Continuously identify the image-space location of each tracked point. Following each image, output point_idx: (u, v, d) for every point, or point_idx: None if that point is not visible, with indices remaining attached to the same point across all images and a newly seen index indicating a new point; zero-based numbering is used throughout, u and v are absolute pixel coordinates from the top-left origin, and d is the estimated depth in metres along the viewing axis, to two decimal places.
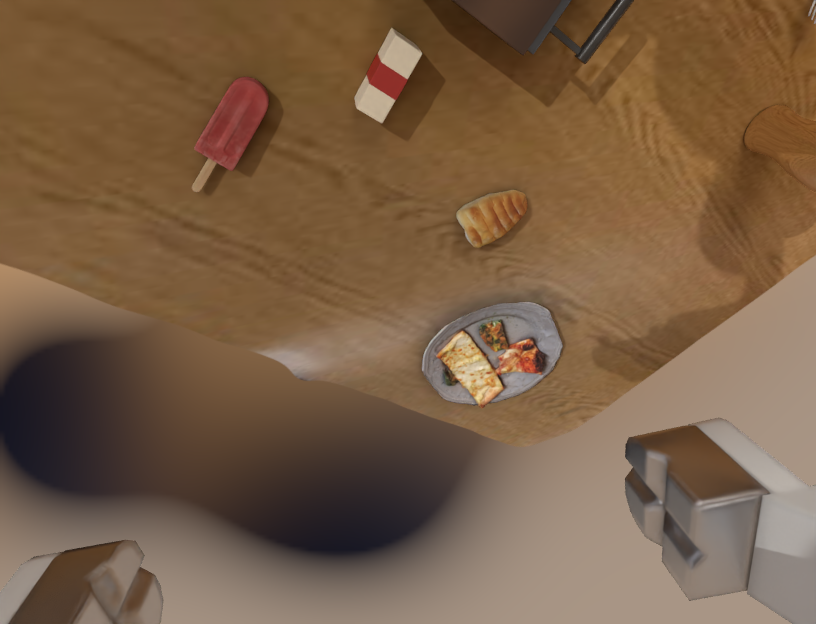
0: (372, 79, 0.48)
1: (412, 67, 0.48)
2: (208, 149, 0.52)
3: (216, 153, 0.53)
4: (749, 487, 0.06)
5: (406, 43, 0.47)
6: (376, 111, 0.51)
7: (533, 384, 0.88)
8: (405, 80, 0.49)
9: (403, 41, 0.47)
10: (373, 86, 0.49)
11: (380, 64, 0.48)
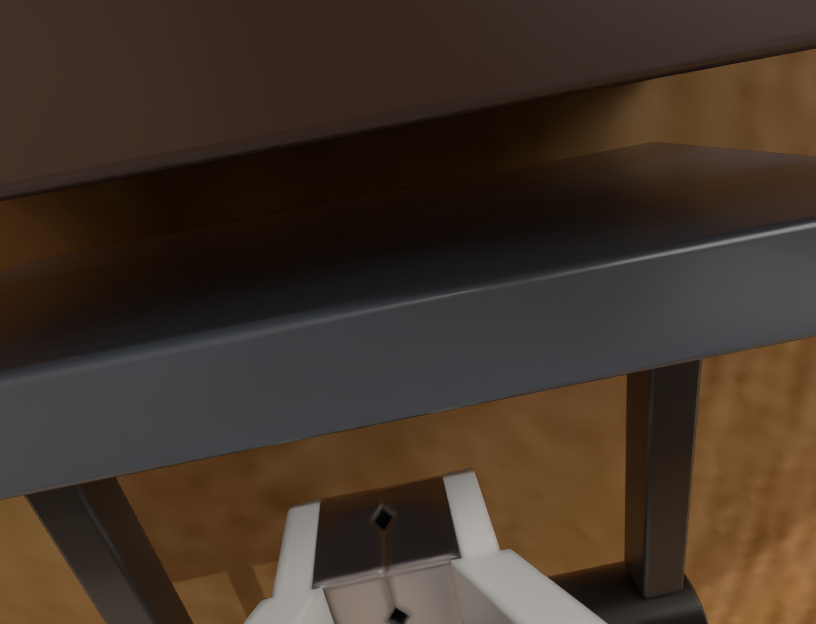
0: None
1: None
2: None
3: None
4: (444, 550, 0.06)
5: None
6: None
7: None
8: None
9: None
10: None
11: None
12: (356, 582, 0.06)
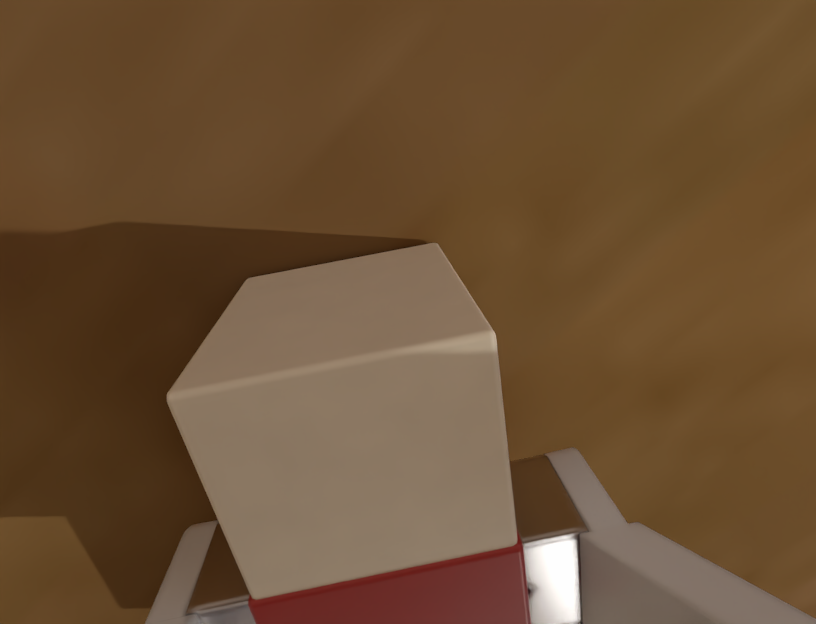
0: (518, 578, 0.06)
1: None
2: None
3: None
4: (570, 524, 0.06)
5: None
6: (307, 443, 0.05)
7: None
8: None
9: None
10: (478, 543, 0.06)
11: None
12: (232, 608, 0.06)
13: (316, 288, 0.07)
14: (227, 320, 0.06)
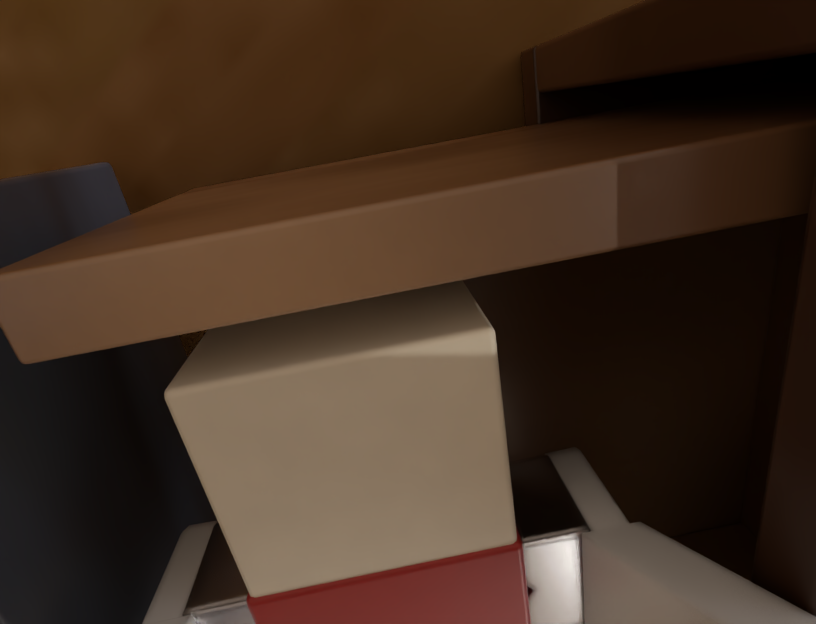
0: (518, 576, 0.06)
1: None
2: None
3: None
4: (572, 523, 0.06)
5: None
6: (304, 441, 0.05)
7: None
8: None
9: None
10: (477, 540, 0.06)
11: None
12: (229, 609, 0.06)
13: None
14: None
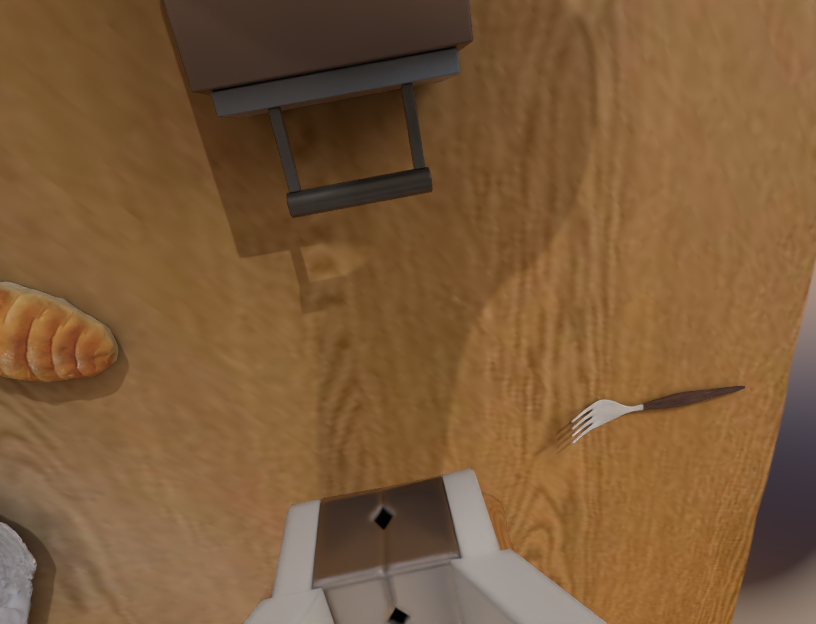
0: None
1: None
2: None
3: None
4: (444, 550, 0.06)
5: None
6: None
7: None
8: None
9: None
10: None
11: None
12: (356, 582, 0.06)
13: None
14: None
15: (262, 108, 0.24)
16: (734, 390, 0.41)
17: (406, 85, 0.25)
